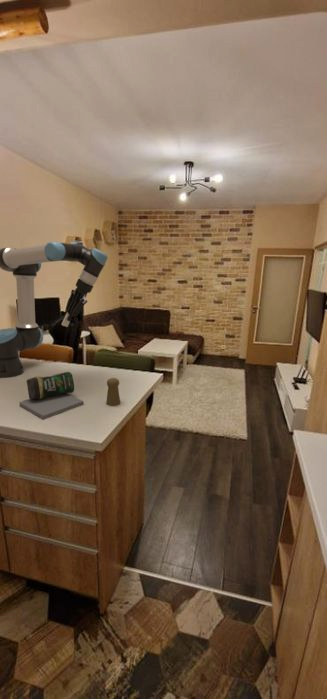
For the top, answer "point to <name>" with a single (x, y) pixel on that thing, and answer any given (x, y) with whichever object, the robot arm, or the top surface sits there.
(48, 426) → the top surface
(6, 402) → the top surface
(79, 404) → the mat
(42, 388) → the coffee jar
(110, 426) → the top surface
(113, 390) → the cork
